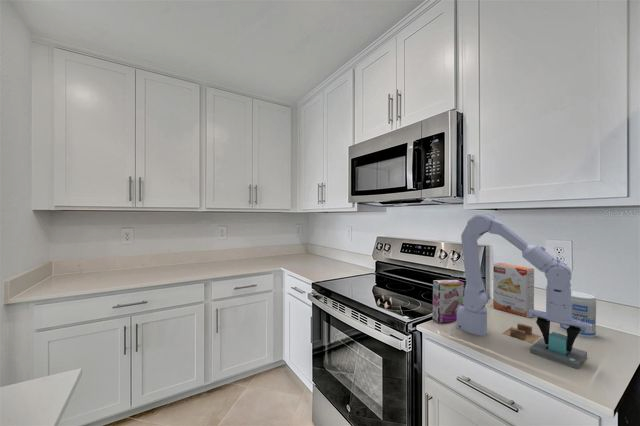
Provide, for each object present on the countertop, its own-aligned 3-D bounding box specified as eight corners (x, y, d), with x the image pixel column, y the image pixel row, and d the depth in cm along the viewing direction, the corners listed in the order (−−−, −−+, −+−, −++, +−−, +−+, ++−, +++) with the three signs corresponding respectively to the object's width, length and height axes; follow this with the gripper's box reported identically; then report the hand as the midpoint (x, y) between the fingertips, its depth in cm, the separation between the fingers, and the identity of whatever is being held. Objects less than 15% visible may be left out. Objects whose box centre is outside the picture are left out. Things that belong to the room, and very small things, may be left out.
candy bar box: (438, 324, 107) (438, 283, 107) (432, 319, 112) (432, 279, 112) (464, 322, 108) (464, 282, 108) (456, 317, 113) (457, 279, 113)
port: (529, 355, 83) (529, 346, 83) (541, 345, 90) (541, 336, 90) (578, 372, 75) (578, 362, 75) (587, 359, 81) (587, 350, 81)
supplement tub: (576, 340, 93) (576, 298, 93) (552, 328, 103) (553, 290, 103) (604, 340, 93) (604, 298, 93) (578, 328, 103) (578, 290, 103)
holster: (501, 336, 96) (501, 326, 96) (511, 329, 102) (511, 320, 102) (532, 346, 89) (532, 336, 89) (541, 338, 94) (541, 329, 94)
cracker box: (492, 308, 124) (492, 263, 124) (500, 306, 127) (500, 262, 126) (526, 319, 111) (526, 269, 111) (534, 317, 114) (534, 268, 114)
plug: (547, 357, 83) (548, 335, 82) (552, 353, 85) (553, 331, 85) (565, 363, 79) (566, 340, 79) (568, 359, 82) (569, 336, 81)
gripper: (594, 306, 79) (594, 352, 79) (533, 294, 90) (533, 334, 90) (589, 312, 74) (588, 360, 75) (526, 298, 86) (526, 340, 86)
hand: (558, 346), depth 82 cm, fingers open, 5 cm apart
